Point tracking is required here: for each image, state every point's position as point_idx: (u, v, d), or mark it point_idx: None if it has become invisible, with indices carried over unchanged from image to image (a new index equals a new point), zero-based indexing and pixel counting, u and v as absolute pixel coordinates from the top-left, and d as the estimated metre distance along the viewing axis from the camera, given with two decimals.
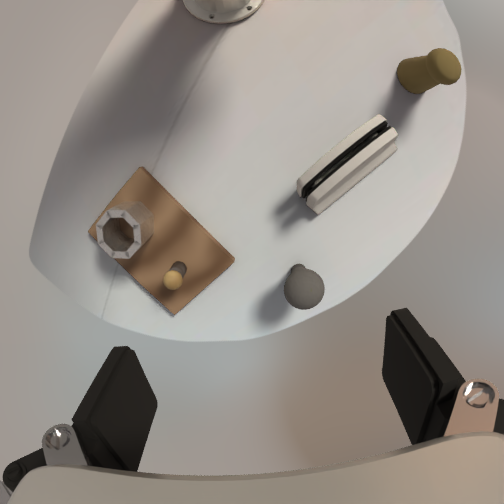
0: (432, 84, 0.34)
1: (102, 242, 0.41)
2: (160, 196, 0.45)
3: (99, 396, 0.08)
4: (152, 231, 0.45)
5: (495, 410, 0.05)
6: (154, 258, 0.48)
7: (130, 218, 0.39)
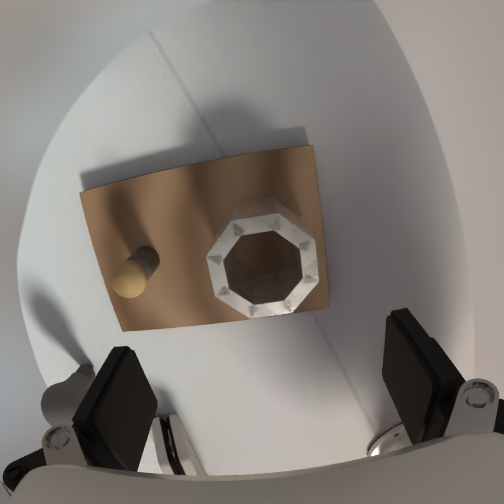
0: None
1: (273, 225, 0.19)
2: None
3: (99, 396, 0.08)
4: None
5: (495, 410, 0.05)
6: (183, 232, 0.25)
7: (272, 311, 0.21)
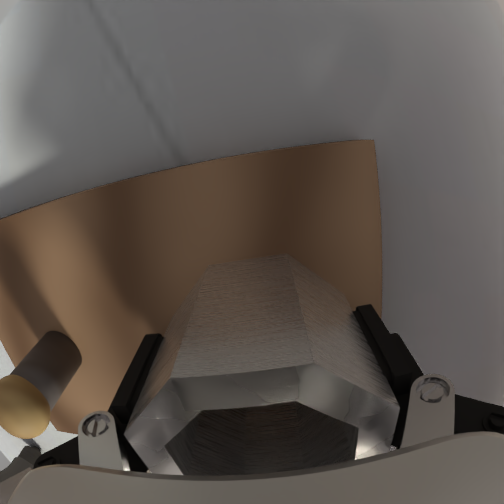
0: None
1: (296, 391, 0.06)
2: None
3: (137, 381, 0.08)
4: None
5: (453, 402, 0.06)
6: (110, 316, 0.12)
7: None
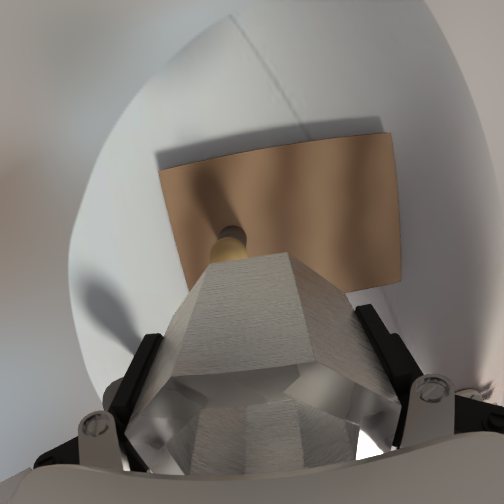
0: None
1: (298, 390, 0.06)
2: (349, 283, 0.28)
3: (137, 381, 0.08)
4: None
5: (452, 402, 0.06)
6: (273, 211, 0.26)
7: None
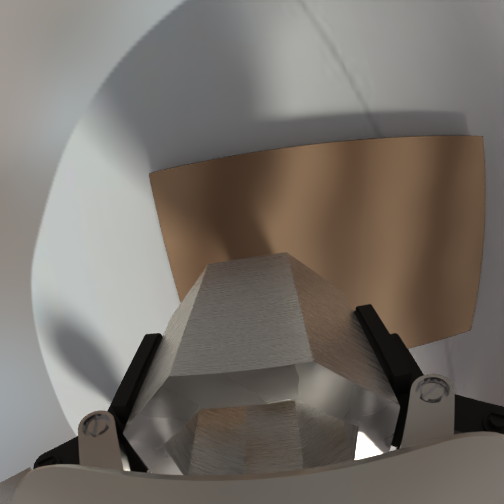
0: None
1: (296, 390, 0.06)
2: (413, 337, 0.19)
3: (137, 381, 0.08)
4: None
5: (452, 402, 0.06)
6: (326, 241, 0.17)
7: None
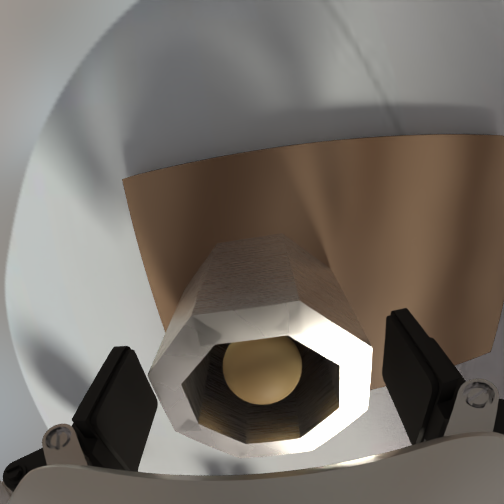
0: None
1: (287, 326, 0.08)
2: None
3: (99, 396, 0.08)
4: None
5: (495, 410, 0.05)
6: (338, 260, 0.14)
7: (278, 450, 0.10)
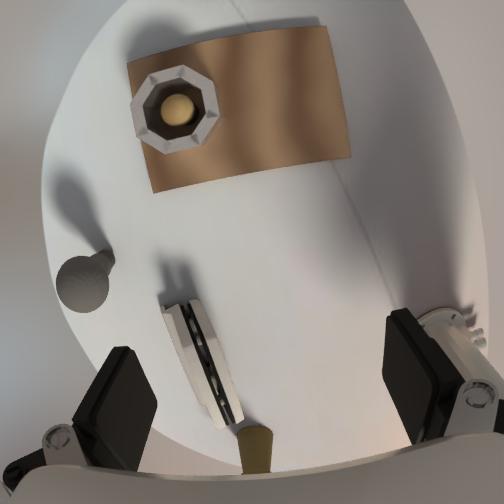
0: (243, 460, 0.40)
1: (180, 74, 0.21)
2: (297, 156, 0.29)
3: (99, 396, 0.08)
4: None
5: (495, 410, 0.05)
6: (222, 87, 0.27)
7: (182, 145, 0.23)
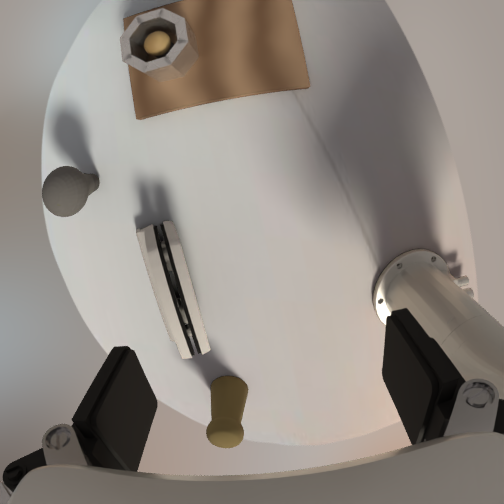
0: (213, 409, 0.41)
1: (159, 14, 0.23)
2: (261, 84, 0.31)
3: (99, 396, 0.08)
4: None
5: (495, 410, 0.05)
6: (198, 32, 0.29)
7: (157, 65, 0.25)
